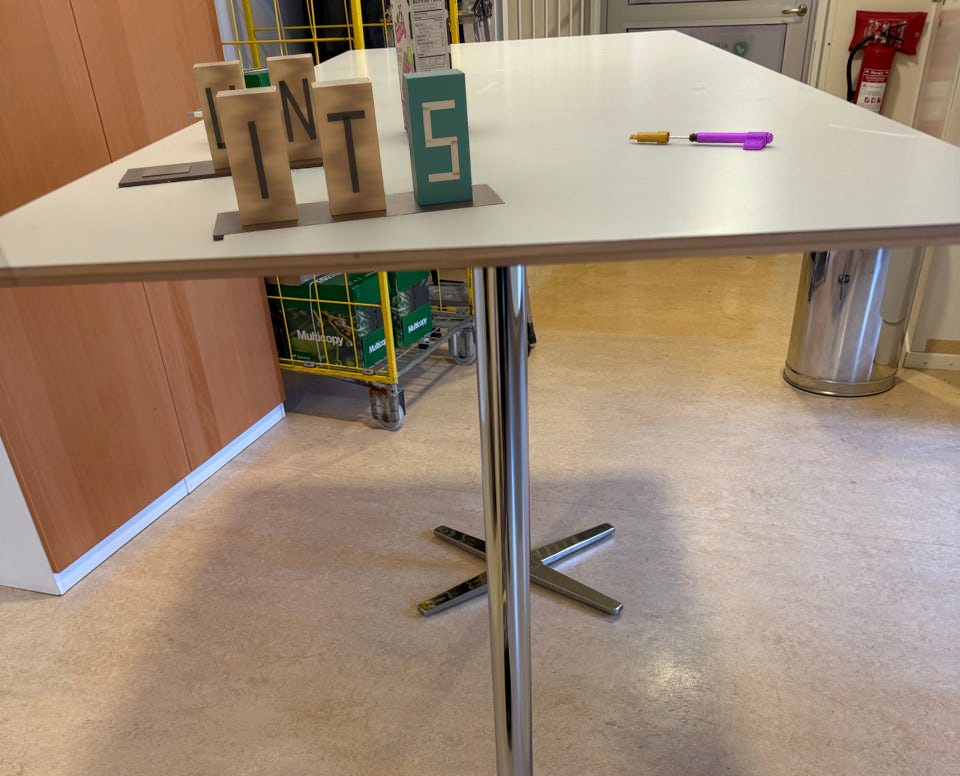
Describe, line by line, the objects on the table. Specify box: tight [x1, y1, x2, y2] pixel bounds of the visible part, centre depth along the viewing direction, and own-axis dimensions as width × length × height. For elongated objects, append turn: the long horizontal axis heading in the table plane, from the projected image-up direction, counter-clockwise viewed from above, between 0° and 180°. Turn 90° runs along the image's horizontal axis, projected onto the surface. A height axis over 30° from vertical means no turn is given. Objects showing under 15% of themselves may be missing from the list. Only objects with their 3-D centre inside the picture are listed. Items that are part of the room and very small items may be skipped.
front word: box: [212, 76, 506, 241], centre depth 82 cm, size 26×9×10 cm, turn 100°
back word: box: [117, 53, 323, 188], centre depth 104 cm, size 26×9×10 cm, turn 100°
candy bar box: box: [389, 0, 453, 132], centre depth 112 cm, size 11×5×16 cm, turn 15°
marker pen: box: [628, 130, 774, 151], centre depth 99 cm, size 3×1×16 cm
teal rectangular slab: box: [402, 68, 473, 206], centre depth 82 cm, size 5×4×10 cm
